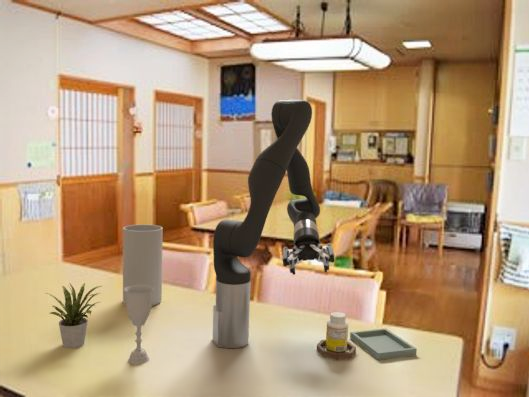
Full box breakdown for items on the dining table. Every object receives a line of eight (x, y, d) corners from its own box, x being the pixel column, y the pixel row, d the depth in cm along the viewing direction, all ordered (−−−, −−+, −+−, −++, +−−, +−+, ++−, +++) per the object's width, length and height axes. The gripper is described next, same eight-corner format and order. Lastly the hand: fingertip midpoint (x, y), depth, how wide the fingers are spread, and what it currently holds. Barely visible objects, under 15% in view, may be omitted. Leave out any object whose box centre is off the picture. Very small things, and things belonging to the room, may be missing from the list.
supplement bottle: (332, 345, 134) (334, 309, 133) (350, 351, 131) (352, 314, 129) (321, 351, 130) (323, 314, 129) (339, 358, 126) (341, 319, 125)
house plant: (118, 339, 133) (118, 280, 131) (83, 359, 120) (83, 294, 118) (74, 330, 138) (74, 273, 136) (37, 349, 125) (36, 287, 123)
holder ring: (327, 361, 124) (328, 355, 124) (311, 346, 133) (312, 340, 133) (361, 357, 127) (361, 351, 127) (343, 342, 136) (343, 337, 136)
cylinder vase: (169, 300, 166) (170, 227, 163) (141, 310, 156) (142, 232, 153) (143, 293, 173) (143, 223, 170) (114, 302, 162) (114, 227, 159)
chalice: (145, 367, 117) (145, 294, 115) (118, 364, 118) (118, 291, 116) (157, 355, 124) (158, 285, 122) (132, 352, 126) (133, 283, 123)
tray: (377, 360, 126) (378, 353, 126) (350, 338, 140) (350, 332, 140) (416, 355, 130) (416, 348, 130) (385, 334, 144) (385, 328, 143)
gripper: (281, 228, 145) (281, 261, 130) (329, 224, 144) (335, 257, 129) (283, 249, 148) (284, 284, 134) (331, 245, 147) (337, 279, 133)
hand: (309, 270), depth 132 cm, fingers open, 8 cm apart
